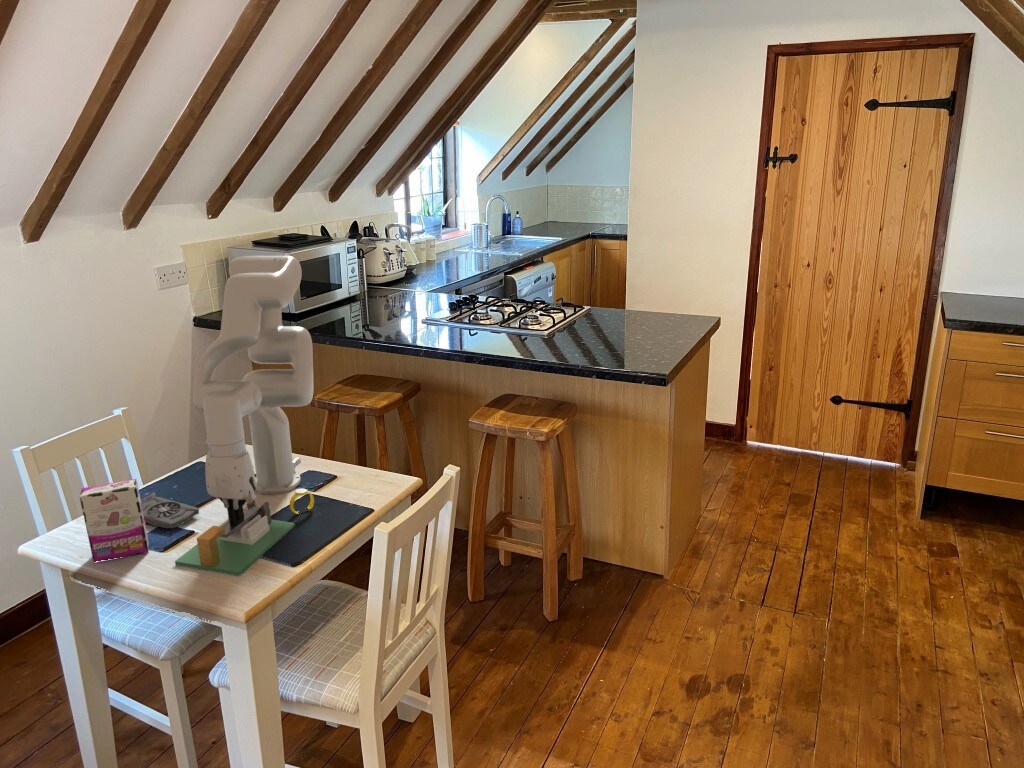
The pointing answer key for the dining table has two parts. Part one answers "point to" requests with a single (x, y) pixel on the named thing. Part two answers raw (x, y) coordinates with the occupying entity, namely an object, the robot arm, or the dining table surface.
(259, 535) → the board
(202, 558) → the block
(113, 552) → the candy bar box
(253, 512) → the grey long bar
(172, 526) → the graphics card
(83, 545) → the dining table surface
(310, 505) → the watch
